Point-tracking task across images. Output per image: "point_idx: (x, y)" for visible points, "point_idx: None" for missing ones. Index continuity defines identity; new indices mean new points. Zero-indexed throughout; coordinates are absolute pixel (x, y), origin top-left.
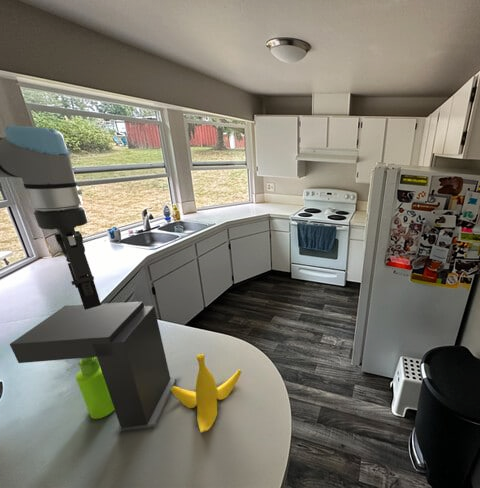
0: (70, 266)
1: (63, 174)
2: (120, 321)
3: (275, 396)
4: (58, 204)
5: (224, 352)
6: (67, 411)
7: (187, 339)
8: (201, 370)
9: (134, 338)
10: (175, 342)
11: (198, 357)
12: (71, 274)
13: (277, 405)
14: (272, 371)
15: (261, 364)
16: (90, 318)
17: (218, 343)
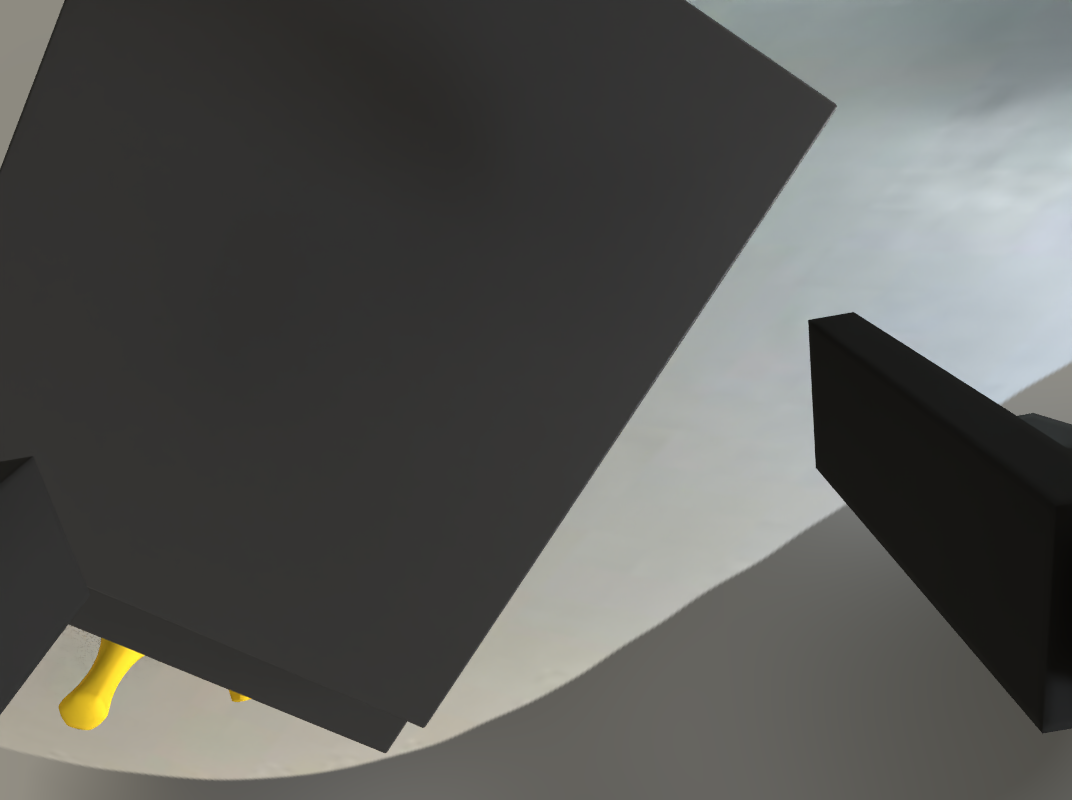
0: (1017, 498)
1: None
2: (123, 573)
3: (78, 740)
4: None
5: (477, 652)
6: None
7: (714, 528)
8: (101, 646)
9: None
10: (733, 472)
11: (68, 705)
12: (912, 404)
13: (30, 731)
14: (218, 778)
15: (288, 757)
16: (337, 352)
17: (567, 646)
